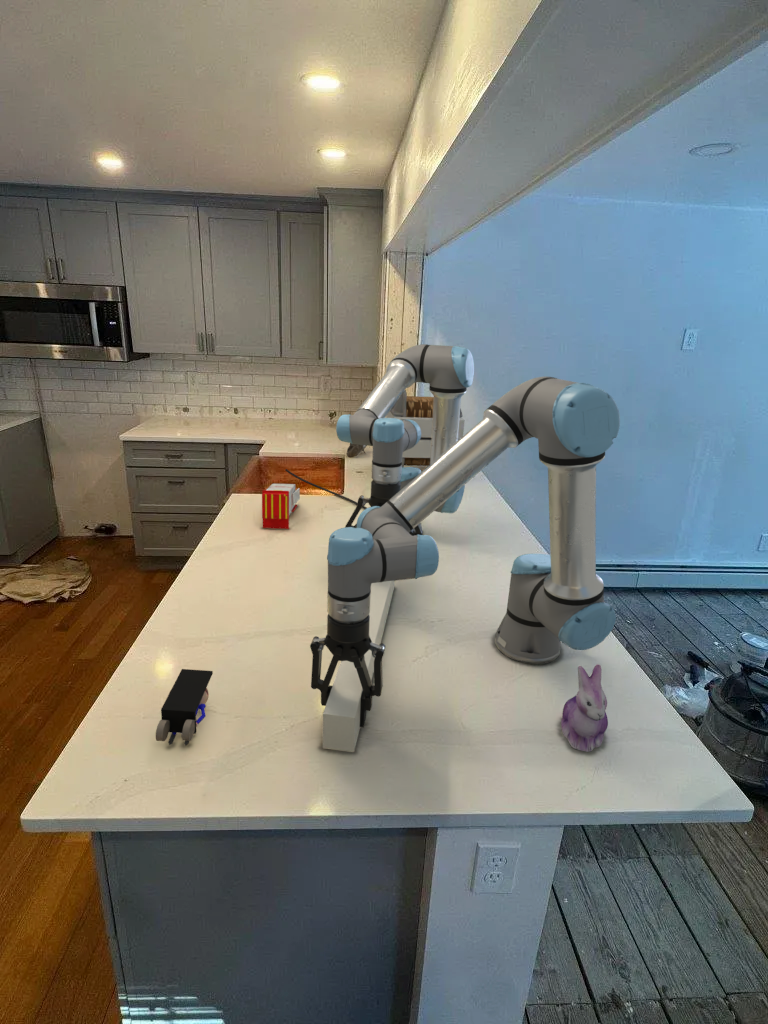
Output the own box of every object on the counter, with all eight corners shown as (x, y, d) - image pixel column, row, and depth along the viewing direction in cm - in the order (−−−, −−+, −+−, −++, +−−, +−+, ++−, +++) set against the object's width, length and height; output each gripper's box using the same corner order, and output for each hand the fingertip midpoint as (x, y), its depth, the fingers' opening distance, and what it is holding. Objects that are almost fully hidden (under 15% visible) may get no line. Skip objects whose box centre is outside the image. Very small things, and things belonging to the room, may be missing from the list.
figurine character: (195, 758, 100) (216, 696, 113) (191, 727, 96) (213, 666, 110) (157, 758, 99) (182, 695, 113) (151, 726, 96) (178, 666, 110)
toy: (301, 479, 224) (291, 492, 194) (301, 512, 226) (291, 530, 197) (270, 478, 223) (256, 491, 194) (271, 511, 226) (256, 529, 197)
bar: (374, 586, 162) (375, 561, 159) (394, 588, 161) (395, 563, 158) (322, 748, 102) (322, 713, 99) (354, 752, 101) (355, 717, 99)
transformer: (382, 463, 289) (386, 382, 275) (445, 464, 293) (451, 384, 279) (390, 482, 257) (394, 392, 243) (460, 483, 261) (468, 394, 247)
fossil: (346, 440, 316) (367, 425, 311) (357, 453, 319) (378, 438, 314) (340, 453, 296) (362, 438, 291) (351, 468, 299) (374, 452, 294)
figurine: (585, 761, 101) (600, 692, 96) (546, 725, 110) (557, 659, 104) (622, 745, 105) (638, 678, 100) (581, 712, 114) (594, 648, 109)
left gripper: (334, 480, 141) (333, 558, 148) (434, 488, 138) (428, 568, 145) (340, 472, 148) (338, 547, 155) (436, 480, 145) (430, 556, 152)
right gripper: (291, 619, 98) (292, 727, 106) (399, 630, 96) (392, 740, 104) (302, 598, 105) (303, 701, 113) (403, 608, 103) (397, 713, 111)
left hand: (382, 557), depth 150 cm, fingers open, 13 cm apart
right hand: (346, 720), depth 108 cm, fingers closed on bar, 6 cm apart
